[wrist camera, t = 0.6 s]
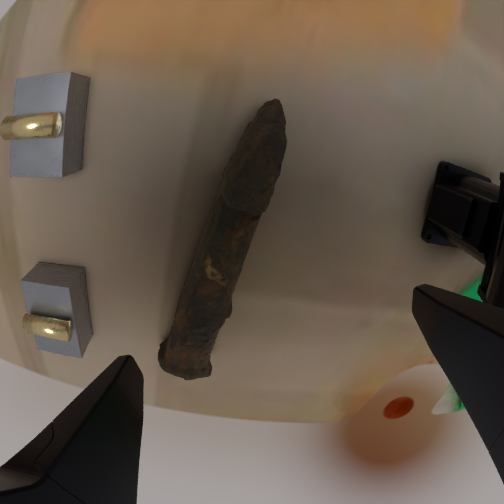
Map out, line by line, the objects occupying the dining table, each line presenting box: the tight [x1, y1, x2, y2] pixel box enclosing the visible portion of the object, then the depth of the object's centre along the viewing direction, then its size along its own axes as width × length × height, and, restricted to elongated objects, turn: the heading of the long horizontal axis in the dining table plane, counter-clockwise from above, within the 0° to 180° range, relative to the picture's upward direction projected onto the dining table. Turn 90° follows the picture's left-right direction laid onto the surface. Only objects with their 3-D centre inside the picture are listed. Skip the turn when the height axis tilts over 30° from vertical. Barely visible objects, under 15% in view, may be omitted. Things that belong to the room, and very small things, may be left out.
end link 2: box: [21, 262, 93, 358], centre depth 19 cm, size 4×6×4 cm, turn 172°
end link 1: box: [0, 72, 90, 177], centre depth 14 cm, size 4×6×4 cm, turn 172°
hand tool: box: [158, 99, 287, 380], centre depth 19 cm, size 19×4×5 cm, turn 158°
